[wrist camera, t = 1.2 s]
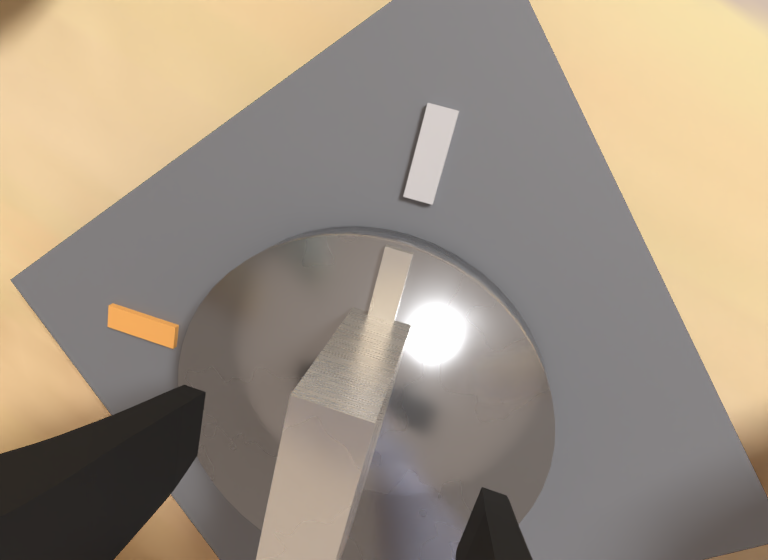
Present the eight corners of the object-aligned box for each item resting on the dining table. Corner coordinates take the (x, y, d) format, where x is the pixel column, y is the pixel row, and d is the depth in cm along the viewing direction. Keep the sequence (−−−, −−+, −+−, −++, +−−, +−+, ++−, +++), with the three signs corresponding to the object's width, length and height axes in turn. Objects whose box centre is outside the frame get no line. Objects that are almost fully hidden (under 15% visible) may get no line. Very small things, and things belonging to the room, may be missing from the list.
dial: (481, 587, 16) (478, 805, 11) (184, 478, 18) (56, 629, 12) (612, 293, 13) (701, 417, 7) (221, 179, 14) (59, 215, 9)
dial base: (760, 501, 15) (791, 545, 14) (306, 622, 21) (291, 663, 20) (492, -52, 12) (493, -78, 11) (47, 267, 18) (4, 281, 16)
